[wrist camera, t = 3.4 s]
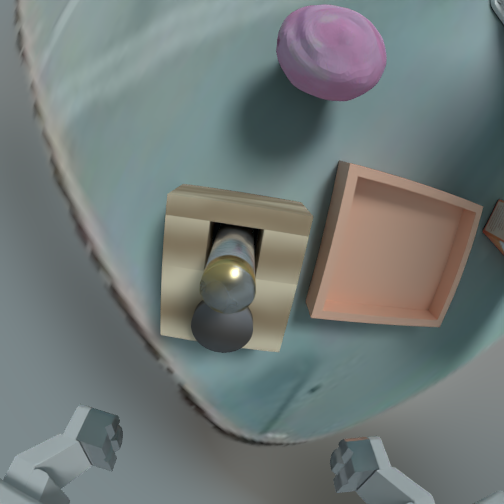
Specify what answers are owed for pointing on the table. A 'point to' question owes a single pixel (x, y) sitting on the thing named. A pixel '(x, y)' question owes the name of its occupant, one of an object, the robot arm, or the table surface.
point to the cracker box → (496, 226)
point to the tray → (390, 250)
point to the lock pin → (230, 270)
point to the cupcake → (331, 52)
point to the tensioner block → (198, 251)
